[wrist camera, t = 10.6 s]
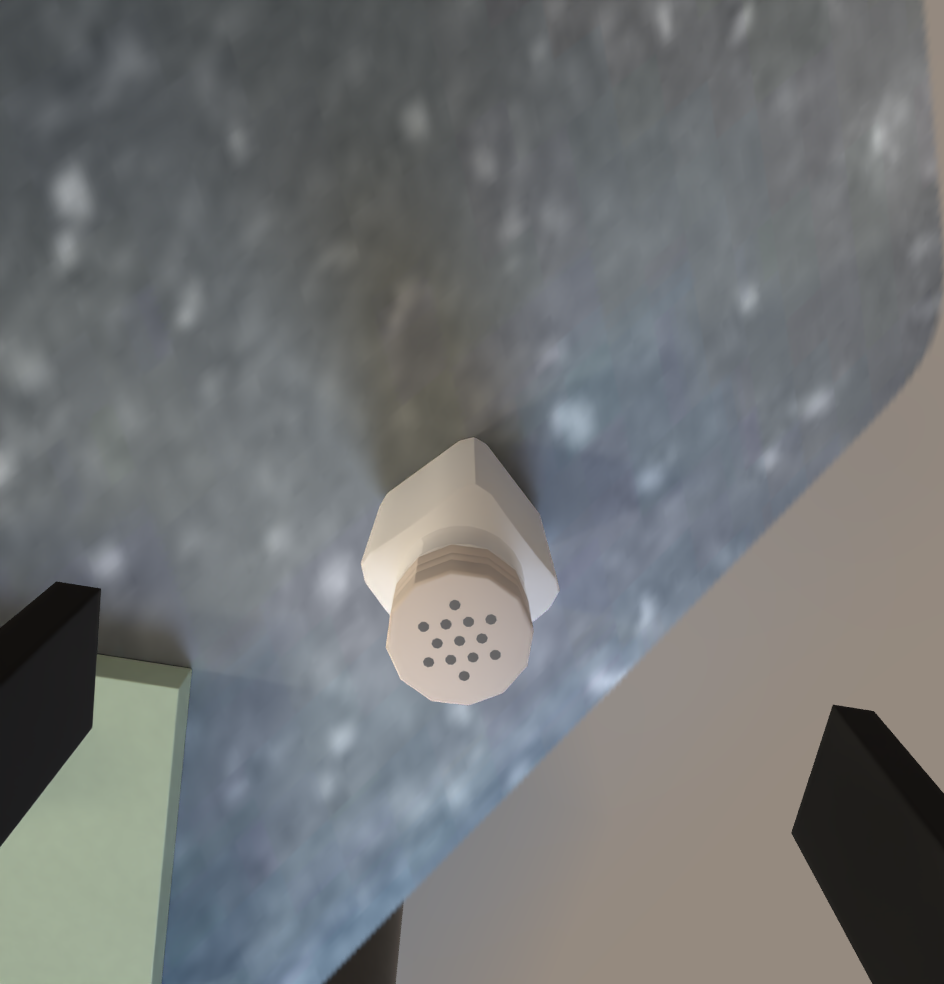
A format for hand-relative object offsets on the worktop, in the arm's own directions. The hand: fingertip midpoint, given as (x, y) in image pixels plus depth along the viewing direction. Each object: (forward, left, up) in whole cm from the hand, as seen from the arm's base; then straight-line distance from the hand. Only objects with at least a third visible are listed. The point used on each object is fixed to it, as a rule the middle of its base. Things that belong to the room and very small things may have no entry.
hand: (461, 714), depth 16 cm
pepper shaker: (0, 0, -13) cm, 13 cm away
